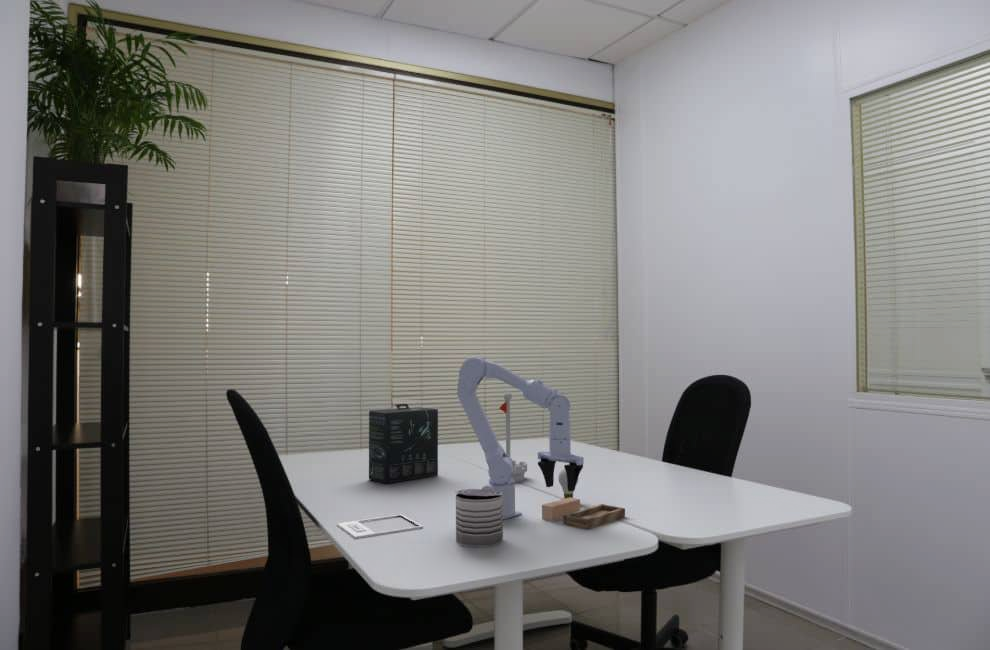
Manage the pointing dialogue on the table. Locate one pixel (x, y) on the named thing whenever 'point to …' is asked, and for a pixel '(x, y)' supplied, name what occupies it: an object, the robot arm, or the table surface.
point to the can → (479, 518)
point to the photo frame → (362, 531)
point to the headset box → (403, 444)
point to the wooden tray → (593, 516)
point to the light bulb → (565, 484)
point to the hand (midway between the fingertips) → (560, 488)
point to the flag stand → (522, 466)
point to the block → (560, 508)
